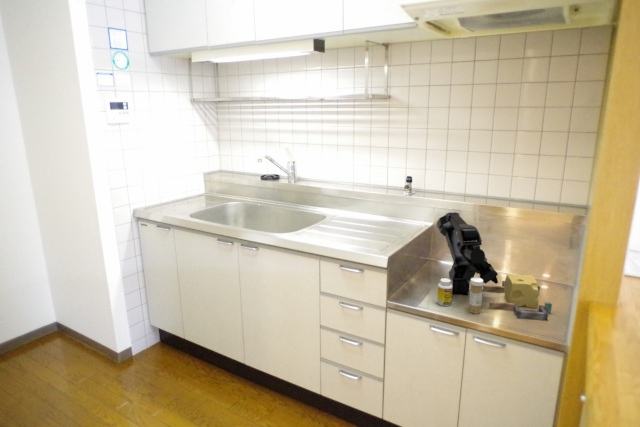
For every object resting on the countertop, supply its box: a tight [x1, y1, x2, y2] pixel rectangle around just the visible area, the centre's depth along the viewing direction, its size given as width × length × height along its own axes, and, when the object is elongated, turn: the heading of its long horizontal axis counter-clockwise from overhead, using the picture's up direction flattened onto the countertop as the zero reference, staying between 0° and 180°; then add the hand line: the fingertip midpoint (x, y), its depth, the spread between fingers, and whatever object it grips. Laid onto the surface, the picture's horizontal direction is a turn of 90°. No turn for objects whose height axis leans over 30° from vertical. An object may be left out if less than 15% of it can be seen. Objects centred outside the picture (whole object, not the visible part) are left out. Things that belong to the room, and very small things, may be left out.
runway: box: [482, 280, 553, 321], centre depth 171 cm, size 22×29×4 cm
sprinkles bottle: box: [468, 276, 484, 315], centre depth 162 cm, size 5×5×13 cm
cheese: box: [504, 274, 540, 309], centre depth 170 cm, size 10×11×10 cm
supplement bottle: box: [436, 277, 453, 307], centre depth 170 cm, size 6×6×10 cm
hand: (496, 282), depth 172 cm, fingers closed
